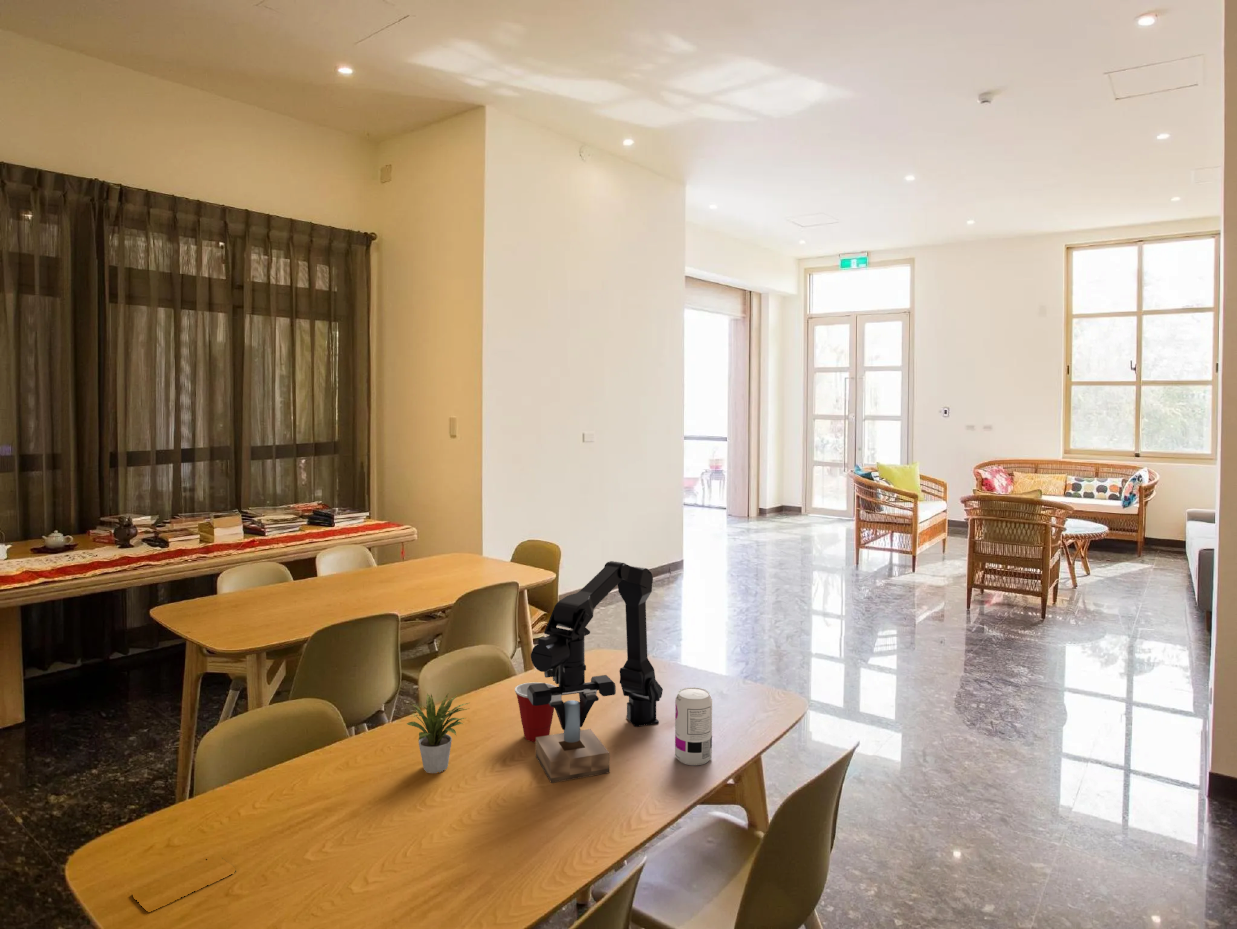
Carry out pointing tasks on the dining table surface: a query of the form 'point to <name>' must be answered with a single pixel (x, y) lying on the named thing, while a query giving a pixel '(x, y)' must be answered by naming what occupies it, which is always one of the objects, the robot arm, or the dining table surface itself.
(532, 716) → the plastic cup
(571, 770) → the bore block
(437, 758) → the house plant
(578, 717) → the pin
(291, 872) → the dining table surface
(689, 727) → the supplement can
